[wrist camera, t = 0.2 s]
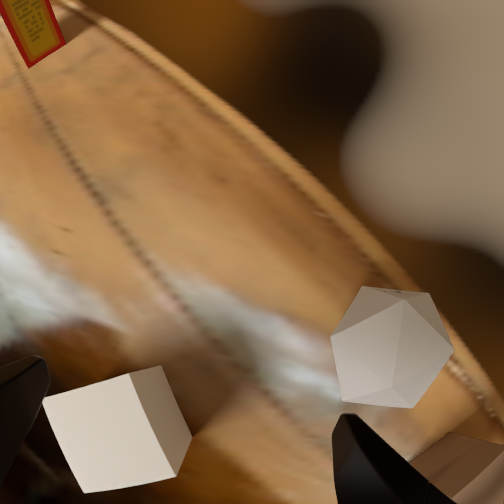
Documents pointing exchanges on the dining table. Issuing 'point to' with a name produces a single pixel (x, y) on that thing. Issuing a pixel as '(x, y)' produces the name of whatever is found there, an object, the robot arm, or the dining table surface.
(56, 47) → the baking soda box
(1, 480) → the robot arm
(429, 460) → the walnut block
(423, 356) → the die
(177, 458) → the pale grey block
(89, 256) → the dining table surface
